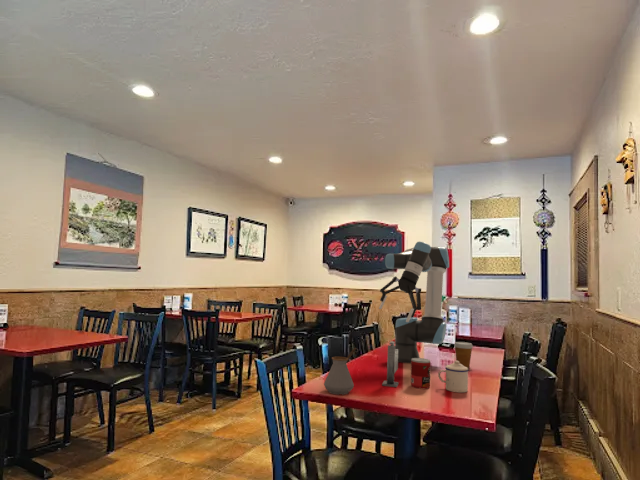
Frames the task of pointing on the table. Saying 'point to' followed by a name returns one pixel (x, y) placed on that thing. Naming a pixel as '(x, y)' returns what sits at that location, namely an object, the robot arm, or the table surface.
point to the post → (390, 368)
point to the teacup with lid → (456, 377)
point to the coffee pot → (339, 376)
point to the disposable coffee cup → (463, 353)
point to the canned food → (420, 373)
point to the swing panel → (395, 356)
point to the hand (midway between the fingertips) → (393, 315)
